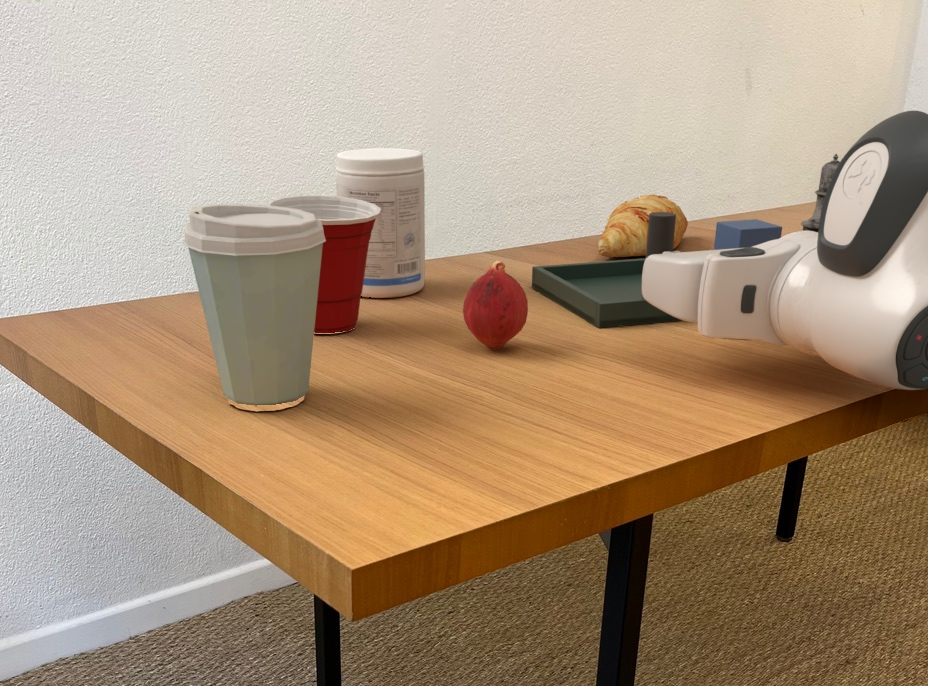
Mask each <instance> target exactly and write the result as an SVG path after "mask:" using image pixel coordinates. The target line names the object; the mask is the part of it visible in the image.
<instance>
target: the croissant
mask: <svg viewBox="0 0 928 686" xmlns="http://www.w3.org/2000/svg"><path fill="white" fill-rule="evenodd" d="M653 212H670V213H674V214H676V222H675V233H674V243H673V250H674V249H676V248H677V247H678V246H679V245H680V244H681V241H682V239H683V237H684V235H685V233H686V232H687V229H688V224H689V223H688V219H687V217H686V215H685V213H684V212H683V210H682V208H681V207H680V206H679V205H677V204H676V202H674V201H672V200H670V199H669V198H668V196H664V195H658V194H647V195H645V194H644V195H640V196H639V197H634V198H633V199H630V200H627V201H624V202H622V203H620V205H618V206H617V207H615V208H614V210H613V211H612V212H611V214H610V215H609V216H608V218H607V223H606V224H605V226H604V230H603V231H602V233H601V238H600V239H599V240H598V241H597V244H598V248H597V249H598V253H599V254H600V255H601V256H602V257H607V258H628V257H630V258H631V257H646V247H647V235H648V222H649V214H650V213H653Z"/></svg>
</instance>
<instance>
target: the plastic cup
mask: <svg viewBox="0 0 928 686" xmlns="http://www.w3.org/2000/svg"><path fill="white" fill-rule="evenodd" d="M266 205H270V206H278V207H286V208H294V209H299V210H302V211H306V212H309V213H312V214H314V215H315V217H316V219H319V220H320V221H321V222H322V226H323V230H324V236H325V240H326V241H325V242H323V246H322V256H321V266H320V276H319V287H318V297H317V307H316V317H315V327H314V332H315V333H335V332H343V331H349V330H351V329H353V328H355V329H356V327H357V323H358V320H359V314H360V313H359V312H360V304H361V298H362V297H361V294H362V289H363V282H364V275H365V268H366V260H367V253H368V246H369V241H370V238H371V232H372V229H373V226H374V222H375V220H376V218H378V216H379V214H380V211H381V209H380V208H379V207H378V206H376V205H375V204H372V203H369V202H366V201H362V200H358V199H351V198H345V197H337V196H336V195H334V196H332V195H295V196H285V197H280V198H277V199H273V200H270V201H268V202H267V203H266ZM355 326H356V327H355Z"/></svg>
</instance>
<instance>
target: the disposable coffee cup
mask: <svg viewBox="0 0 928 686" xmlns="http://www.w3.org/2000/svg"><path fill="white" fill-rule="evenodd" d="M188 214H189V222H188V223H187V224H186V225H185V229H184V241H183V245H184V246H185V247H186V248H187V249H188V252H189V257H190V261H191V264H192V269H193V273H194V278H195V281H196V285H197V290H198V294H199V298H200V302H201V307H202V309H203V315H204V319H205V322H206V328H207V331H208V335H209V339H210V344H211V348H212V353H213V356H214V360H215V365H216V368H217V373H218V377H219V382H220V385H221V390H222V392H223V396H225V397H226V398H227V400H228V399H229V400H232V401H233V402H235V403H237V404H246V405H255V406H257V405H276V404H282V403H287V402H293V401H296V400H298V399H299V398H301V397H303V396H305V397H306V393H308V392H309V388H310V378H311V377H310V376H311V368H312V356H313V348H314V347H313V346H314V336H315V334H314V327H315V317H316V307H317V297H318V287H319V276H320V266H321V256H322V246H323V242H325V241H326V240H325V236H324V230H323V226H322V222H321V221H320V220H319V219H316V217H315V215H314V214H312V213H309V212H306V211H302V210H299V209H294V208H286V207H278V206H270V205H267V204H252V203H251V204H250V203H249V204H247V203H213V204H212V203H210V204H204V205H197V206H192V207H191V208H190V210H189V213H188Z"/></svg>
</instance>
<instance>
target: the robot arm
mask: <svg viewBox="0 0 928 686" xmlns="http://www.w3.org/2000/svg"><path fill="white" fill-rule="evenodd" d="M839 162H840V163H839V164H838V166H837V168H836V170H835V172H834V174H833V177H832V179H831V181H830V184H829V186H828V189H827V192H826V195H825V198H824V201H823V206H822V210H821V215H820V222H819V231H818V232H814V231H803V230H797V231H793V232H789V233H787V234H785V235H783V236H781V238H779V239H775V240H771V241H768V242H765V243H762V244H759V245H756V246H752V247H746V248H734V249H721V250H714V249H709V250H696V251H684V252H683V251H681V250H673V251H666V252H663V253H662V254H653V255H650V256H648V257H647V258H646V257H645V258H646V260H645V262H644V266H643V273H642V295H643V298H644V299H645V300H646V301H647V302H648V303H650V304H652V305H653V306H655V307H657V308H658V309H660V310H662V311H664V312H666V313H667V314H669V315H671V316H673V317H676V318H678V319H681V320H683V322H686V323H693V324H697V332H698V333H699V334H700V335H702V336H703V337H706V338H709V339H716V340H717V339H718V340H719V339H721V340H737V341H738V340H739V341H756V342H762V343H765V344H766V343H767V344H771V345H774V346H778V347H786V346H787V347H790V348H792V349H794V350H795V351H796V350H797V351H799V352H801V353H803V354H806V355H810V356H815V357H820V358H821V359H822V360H823V361H824V362H826V363H827V364H828V365H830V366H832V367H833V368H835V369H837V370H839V371H842V372H844V373H846V374H848V375H851V376H853V377H856V378H858V379H860V380H863V381H867V382H869V383H872V384H875V385H879V386H882V387H887V388H889V389H895V390H903V391H904V390H905V391H918V390H926V389H928V113H926V112H924V111H920V110H905V111H902V112H899V113H897V114H894V115H891V116H890V117H887V118H885V119H884V120H882V121H880V122H879V123H876V124H875V125H874V126H873V127H871V128H870V129H869V130H867V131H866V132H865V133H864V134H863V135H862V136H861V137H859V138H858V140H857V141H856V142H855V143H854V144H852V146H851V147H850V148H849V149H848V151H847V152H846V153H845V154H844V155H843V156H842V158H841V160H840V161H839Z"/></svg>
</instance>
